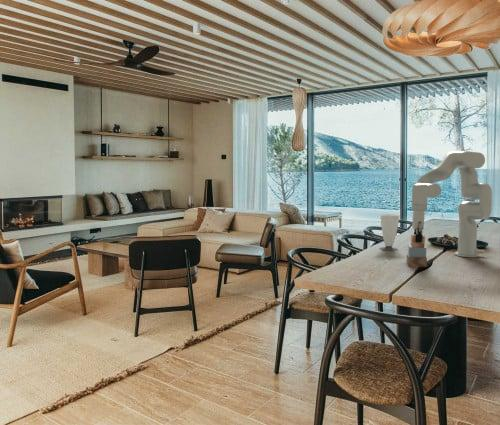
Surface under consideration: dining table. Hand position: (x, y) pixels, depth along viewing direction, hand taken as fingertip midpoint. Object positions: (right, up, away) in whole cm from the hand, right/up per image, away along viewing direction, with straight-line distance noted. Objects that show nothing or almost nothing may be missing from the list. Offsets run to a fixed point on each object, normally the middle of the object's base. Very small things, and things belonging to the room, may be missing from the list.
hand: (417, 240), depth 236 cm
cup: (-1, -8, +46) cm, 46 cm away
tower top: (0, -8, +1) cm, 8 cm away
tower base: (0, -13, +1) cm, 13 cm away
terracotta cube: (0, -3, 0) cm, 3 cm away
